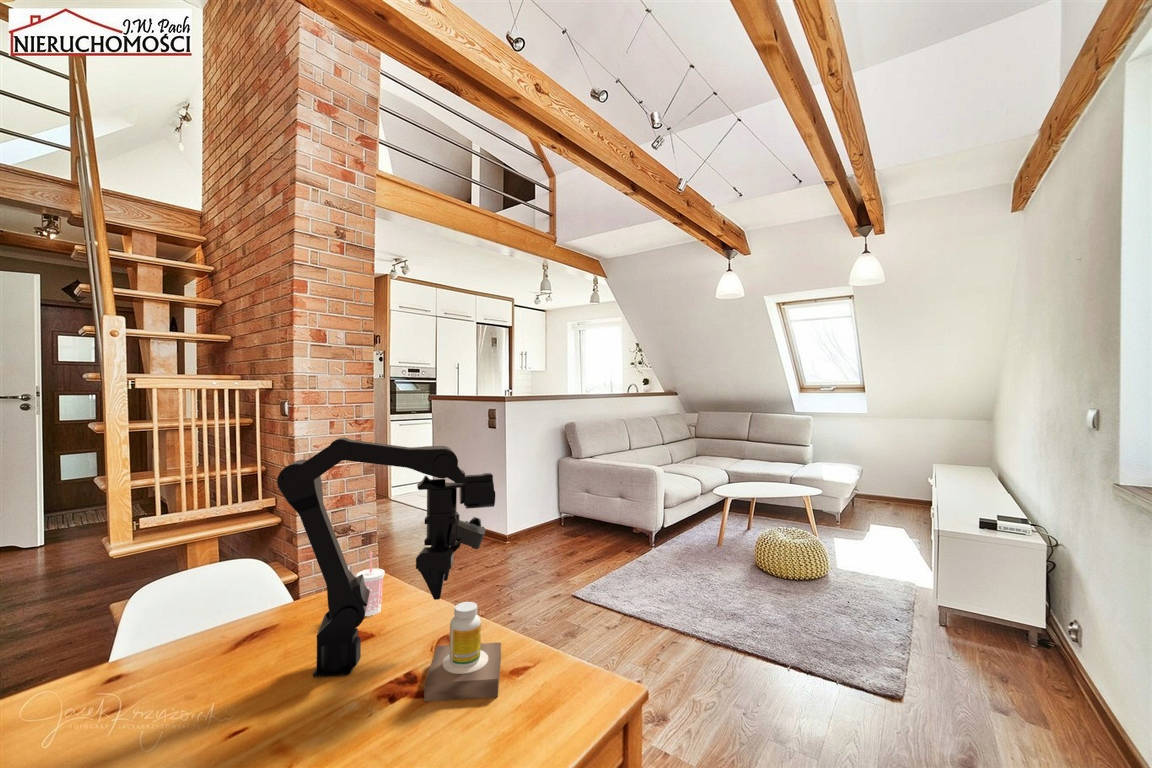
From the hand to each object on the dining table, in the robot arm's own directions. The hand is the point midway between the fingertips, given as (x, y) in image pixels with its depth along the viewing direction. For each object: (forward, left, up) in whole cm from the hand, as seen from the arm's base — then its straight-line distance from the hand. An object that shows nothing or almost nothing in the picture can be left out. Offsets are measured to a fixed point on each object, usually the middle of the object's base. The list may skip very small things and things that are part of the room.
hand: (441, 589), depth 97 cm
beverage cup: (-19, +19, -12) cm, 30 cm away
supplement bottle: (+6, -10, -9) cm, 15 cm away
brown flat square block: (+6, -10, -12) cm, 17 cm away
